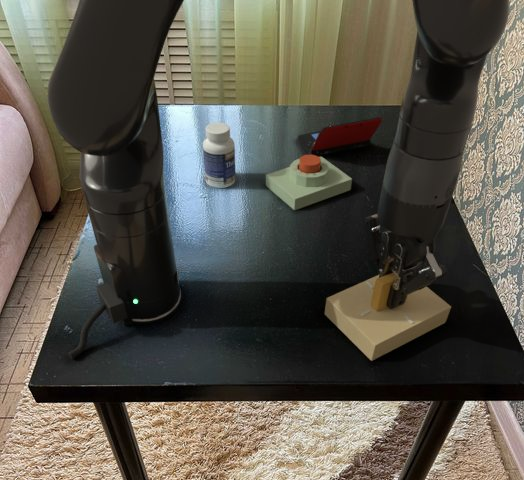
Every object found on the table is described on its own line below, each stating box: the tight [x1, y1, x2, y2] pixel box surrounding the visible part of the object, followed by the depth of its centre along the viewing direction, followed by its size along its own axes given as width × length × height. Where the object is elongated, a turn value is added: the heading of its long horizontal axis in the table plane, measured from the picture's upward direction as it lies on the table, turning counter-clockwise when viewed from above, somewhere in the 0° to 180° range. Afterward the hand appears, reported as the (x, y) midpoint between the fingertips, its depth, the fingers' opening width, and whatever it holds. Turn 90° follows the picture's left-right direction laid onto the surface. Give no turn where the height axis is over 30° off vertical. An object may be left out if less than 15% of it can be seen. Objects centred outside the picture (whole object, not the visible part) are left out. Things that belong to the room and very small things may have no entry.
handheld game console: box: [297, 116, 383, 157], centre depth 101 cm, size 12×11×7 cm
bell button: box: [299, 154, 321, 174], centre depth 91 cm, size 4×4×2 cm
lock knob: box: [371, 272, 408, 311], centre depth 69 cm, size 5×1×5 cm, turn 118°
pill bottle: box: [202, 122, 236, 189], centre depth 92 cm, size 5×5×10 cm
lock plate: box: [324, 274, 452, 362], centre depth 72 cm, size 13×10×3 cm
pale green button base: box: [265, 156, 353, 211], centre depth 93 cm, size 12×9×4 cm
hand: (389, 300), depth 71 cm, fingers closed
